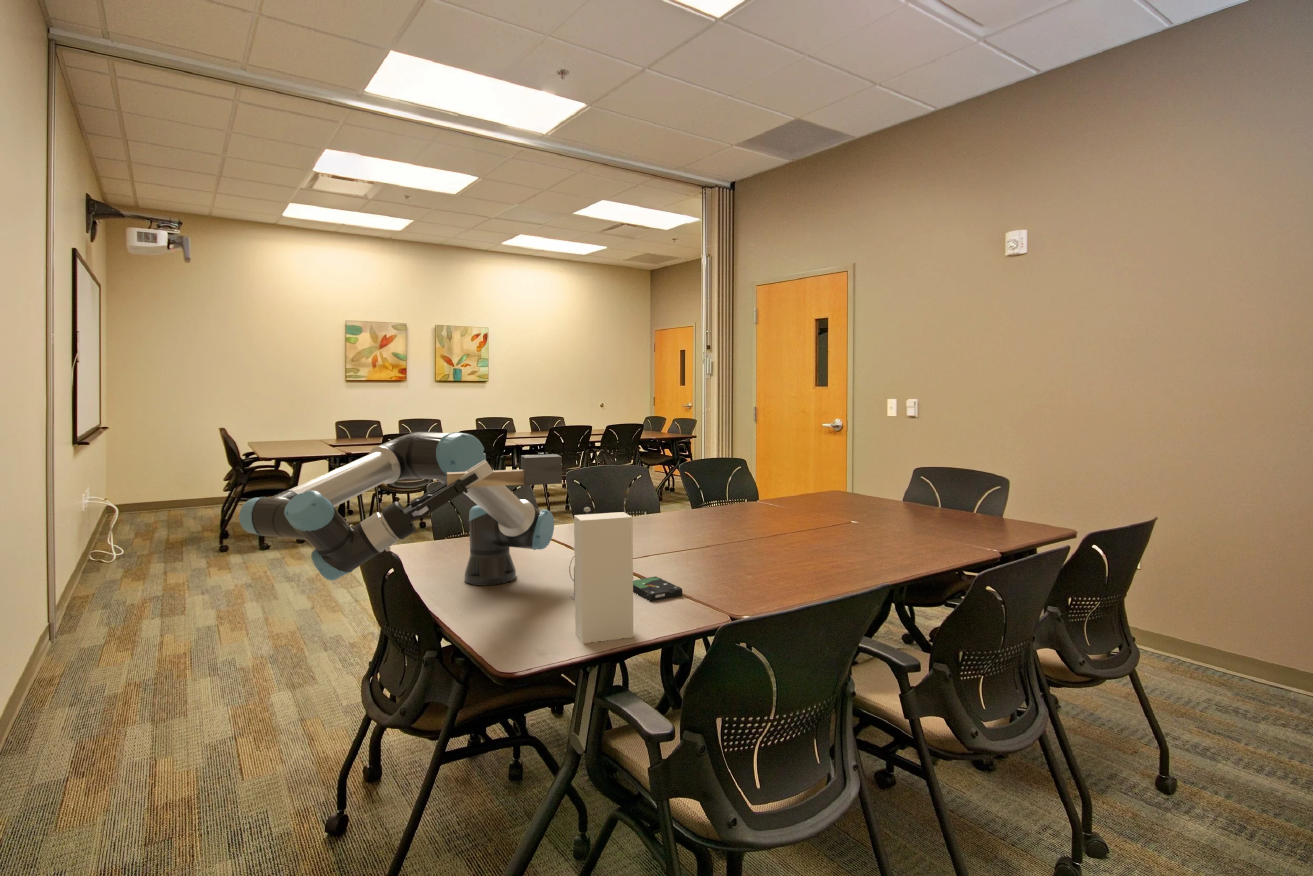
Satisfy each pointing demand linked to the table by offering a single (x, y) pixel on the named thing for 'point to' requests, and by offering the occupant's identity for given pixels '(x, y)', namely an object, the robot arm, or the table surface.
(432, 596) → the table surface
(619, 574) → the stand
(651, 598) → the disk drive
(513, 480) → the mallet
